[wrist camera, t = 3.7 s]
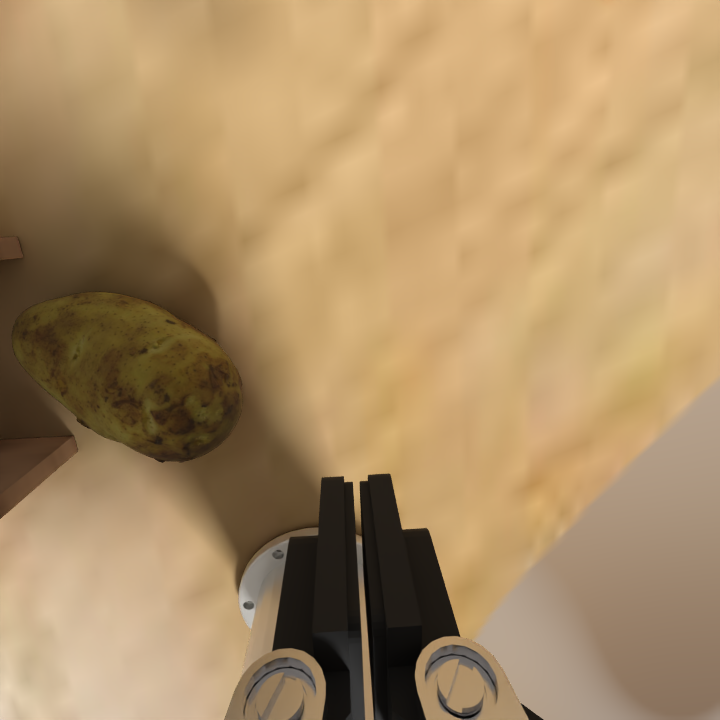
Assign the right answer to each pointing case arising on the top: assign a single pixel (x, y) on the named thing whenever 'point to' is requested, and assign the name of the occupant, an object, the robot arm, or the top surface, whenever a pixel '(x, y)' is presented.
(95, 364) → the potato
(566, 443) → the top surface
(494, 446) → the top surface
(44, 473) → the cubby
